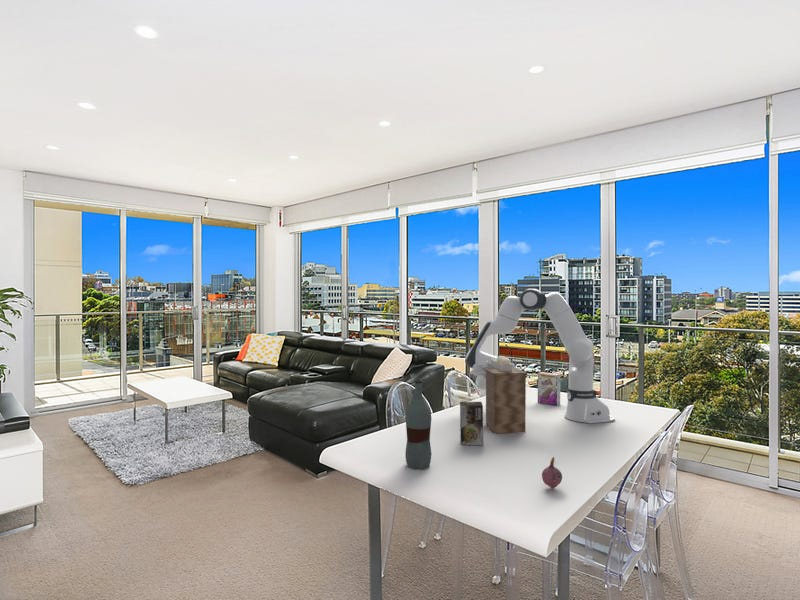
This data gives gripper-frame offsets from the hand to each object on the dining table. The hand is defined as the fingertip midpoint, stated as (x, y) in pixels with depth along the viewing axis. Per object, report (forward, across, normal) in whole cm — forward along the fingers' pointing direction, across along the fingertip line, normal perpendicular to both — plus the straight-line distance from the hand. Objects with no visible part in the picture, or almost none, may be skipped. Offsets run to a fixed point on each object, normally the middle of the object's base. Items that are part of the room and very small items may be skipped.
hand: (497, 363), depth 218 cm
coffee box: (+10, -20, +38) cm, 44 cm away
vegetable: (+50, -7, +61) cm, 79 cm away
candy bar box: (-43, +40, +7) cm, 59 cm away
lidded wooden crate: (-5, 0, +29) cm, 30 cm away
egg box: (+3, 0, +4) cm, 5 cm away
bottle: (+29, -45, +49) cm, 73 cm away
